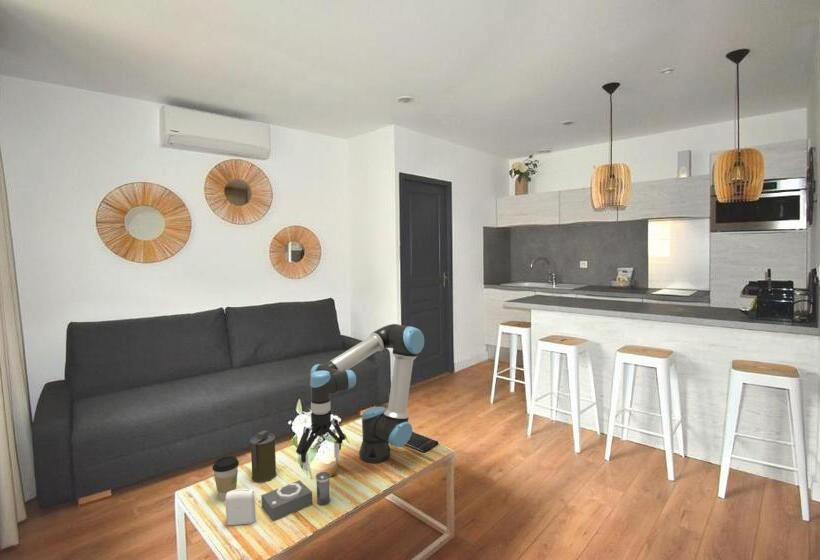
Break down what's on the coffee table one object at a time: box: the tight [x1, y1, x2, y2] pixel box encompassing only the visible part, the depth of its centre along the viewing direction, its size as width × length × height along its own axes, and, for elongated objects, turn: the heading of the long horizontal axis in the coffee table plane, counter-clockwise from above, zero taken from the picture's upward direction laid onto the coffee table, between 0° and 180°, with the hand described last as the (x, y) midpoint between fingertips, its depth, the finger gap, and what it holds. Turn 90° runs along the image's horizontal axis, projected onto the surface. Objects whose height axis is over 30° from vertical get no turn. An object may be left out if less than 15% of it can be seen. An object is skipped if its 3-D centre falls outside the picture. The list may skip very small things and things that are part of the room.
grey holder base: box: [260, 480, 313, 522], centre depth 164 cm, size 16×11×6 cm
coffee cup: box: [212, 455, 240, 502], centre depth 170 cm, size 10×10×15 cm
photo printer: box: [224, 488, 257, 526], centre depth 155 cm, size 10×4×12 cm, turn 96°
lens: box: [315, 471, 331, 507], centre depth 166 cm, size 5×5×11 cm
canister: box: [249, 429, 277, 484], centre depth 185 cm, size 11×10×20 cm
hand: (321, 463), depth 165 cm, fingers open, 13 cm apart
